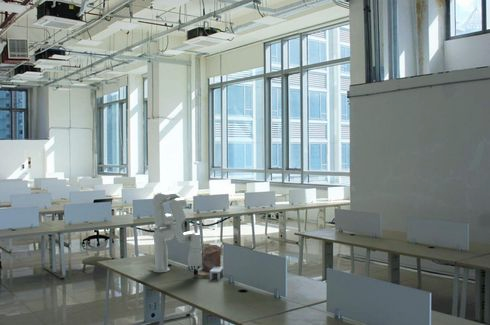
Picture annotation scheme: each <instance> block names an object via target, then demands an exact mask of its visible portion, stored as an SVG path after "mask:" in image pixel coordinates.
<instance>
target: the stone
mask: <svg viewBox="0 0 490 325" xmlns="http://www.w3.org/2000/svg"><path fill="white" fill-rule="evenodd" d="M221 249H222V247H221V246H219V245H218V244H210V243H203V244H201V252H202V257H203V267H201V268H202V270H204V272H210V270H211V269H212V268H213V267H221V265H222V264H221V262H222V261H221V255H222V250H221Z"/></svg>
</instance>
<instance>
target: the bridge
mask: <svg viewBox="0 0 490 325" xmlns="http://www.w3.org/2000/svg"><path fill="white" fill-rule="evenodd" d="M223 270H224V266H220V267H213V268H212V269H211V270H210V278H209V280H211V281H213V278H212V273H218V274H217V278H216V280H217V281H220V280H221V277H223V276H224V275H223ZM224 271H225V270H224Z"/></svg>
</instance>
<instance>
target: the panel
mask: <svg viewBox="0 0 490 325" xmlns="http://www.w3.org/2000/svg"><path fill="white" fill-rule="evenodd" d="M217 274H218V273H212V279H217ZM196 278H197V279H210V272H208V271H198V274H197V275H196Z"/></svg>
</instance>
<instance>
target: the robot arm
mask: <svg viewBox="0 0 490 325" xmlns="http://www.w3.org/2000/svg"><path fill="white" fill-rule="evenodd" d="M164 204H169V208H170V211H171V213H166V208H165V206H164ZM187 204H188V202H187V201H186V199H185V198H184V197H183V196H181V195H180V194H178V193H176V192H174V191H163V192H160V193H156V194H155V195H154V196H153V198H152V207H153V216H154V218H153V219H154V221H153V222H154V225H155V226H154V227H156V228H158V229H157V230H155V231H154V232H153V242H154V264H149V267H150V268H151V269H152V271H153V272H154V273H167V272H170V270H171V269H170V267H169V264H168V263H169V262H168V260H169V259H168V258H169V257H168V256H169V255H168V252H169V250H168V245H167V241H170V240H172V239H174V237H175V238H176V241H177V242H178V243H180V244H185V243H190V244H189V246H190V247H189V248H188V249H187V250H188V251H189V252H188V256H187V257H188V259H187V265H188V267H189V268H191V269H192V270H193V272H192V273H193V275H194V276H197V274H198V273H199V269H200V268H202V267H203V257H202V244H201V243H202V242H201V241H202V240H201V238H202V237H201V233H200V232H193V231H192V230H191V231H185V232H184V231H183V229H182V228H183V227H182V225H183V222H184V221H185V220H186V213H185V211H184V209H186V207H187Z"/></svg>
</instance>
